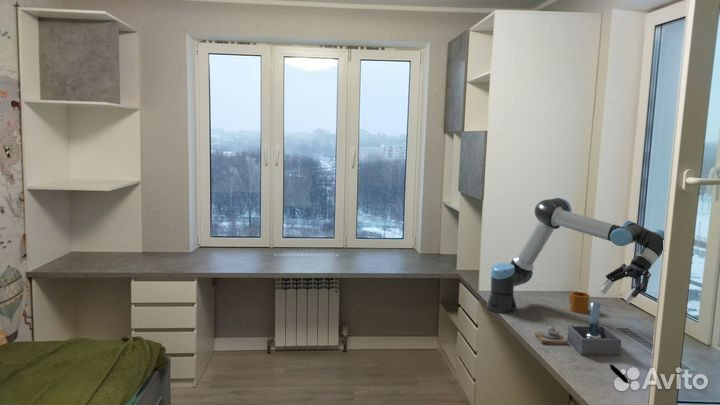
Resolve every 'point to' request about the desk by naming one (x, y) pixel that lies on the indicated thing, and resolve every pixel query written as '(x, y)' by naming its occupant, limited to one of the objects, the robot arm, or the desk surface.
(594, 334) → the strut
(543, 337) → the stud base
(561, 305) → the desk surface
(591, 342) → the bin
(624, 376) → the pen
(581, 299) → the mug
